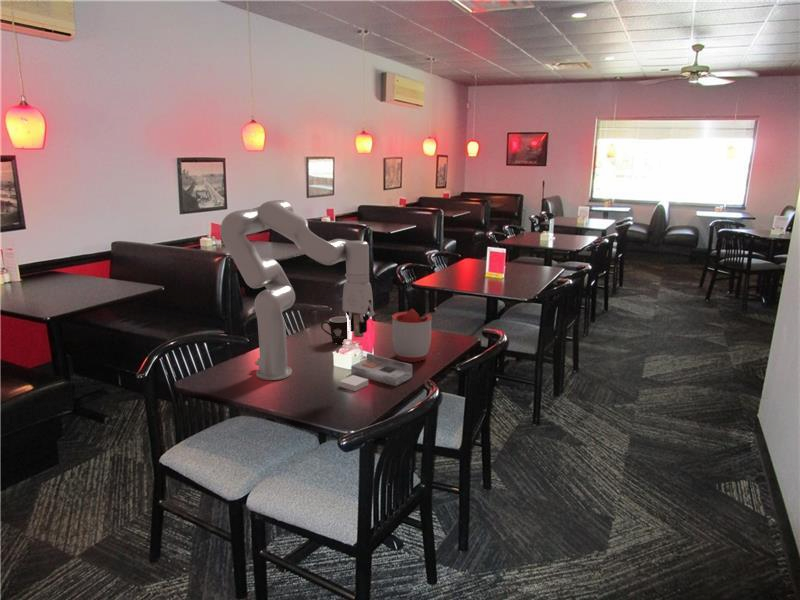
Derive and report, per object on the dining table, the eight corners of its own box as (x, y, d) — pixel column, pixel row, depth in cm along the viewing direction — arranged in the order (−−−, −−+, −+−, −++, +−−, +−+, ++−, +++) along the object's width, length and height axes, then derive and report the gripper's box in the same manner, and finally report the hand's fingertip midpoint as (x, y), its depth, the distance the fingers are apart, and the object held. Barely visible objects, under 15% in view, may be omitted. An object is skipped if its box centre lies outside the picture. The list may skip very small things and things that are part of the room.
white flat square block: (339, 386, 192) (339, 381, 192) (352, 380, 198) (352, 374, 197) (355, 391, 188) (355, 385, 188) (368, 384, 194) (368, 379, 193)
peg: (352, 336, 189) (351, 313, 187) (358, 334, 192) (357, 311, 190) (359, 338, 188) (358, 314, 186) (365, 335, 190) (365, 312, 188)
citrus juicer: (440, 355, 224) (442, 306, 220) (417, 367, 210) (418, 316, 206) (408, 347, 233) (408, 301, 228) (383, 359, 219) (383, 310, 214)
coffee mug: (354, 341, 240) (353, 318, 238) (341, 346, 233) (341, 323, 231) (332, 336, 246) (332, 314, 244) (320, 341, 239) (319, 319, 237)
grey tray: (351, 373, 204) (351, 360, 203) (368, 365, 212) (368, 353, 211) (395, 386, 193) (396, 372, 192) (412, 377, 201) (412, 364, 199)
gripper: (331, 277, 187) (333, 330, 191) (369, 283, 177) (370, 338, 182) (346, 273, 193) (347, 325, 197) (384, 279, 183) (384, 333, 188)
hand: (358, 331), depth 189 cm, fingers closed on peg, 3 cm apart
